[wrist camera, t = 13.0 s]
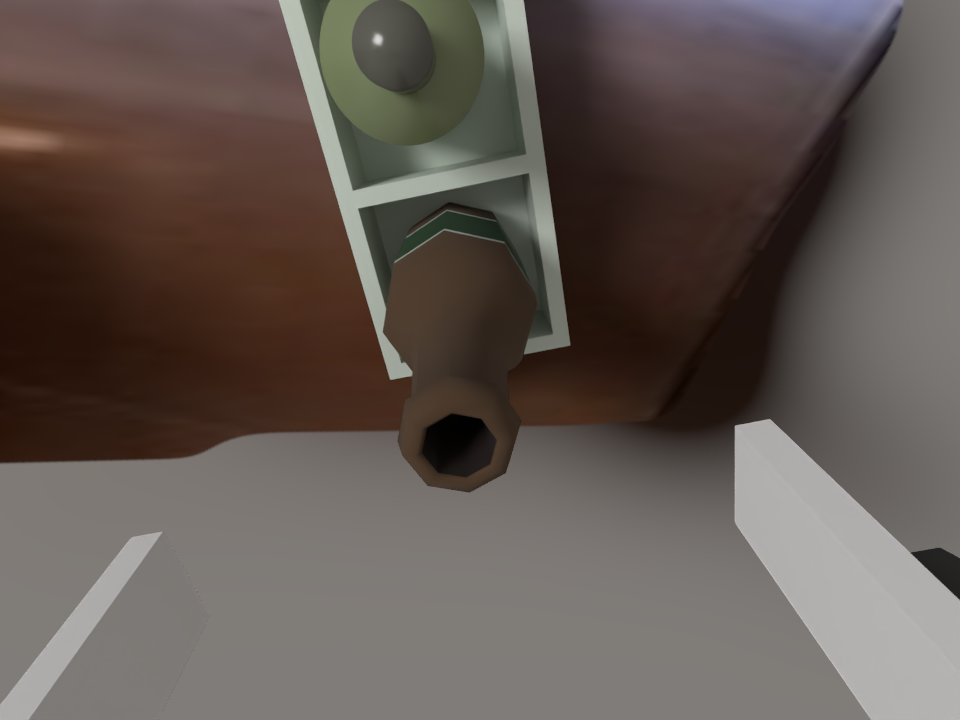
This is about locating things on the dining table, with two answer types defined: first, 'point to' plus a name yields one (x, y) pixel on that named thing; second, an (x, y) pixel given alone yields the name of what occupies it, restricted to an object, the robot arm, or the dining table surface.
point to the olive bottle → (402, 65)
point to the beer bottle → (459, 344)
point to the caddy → (444, 169)
